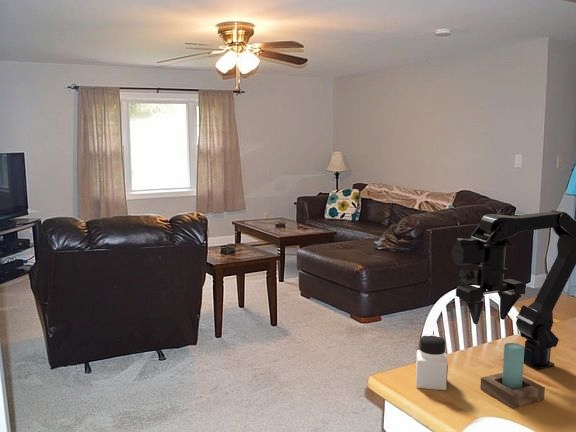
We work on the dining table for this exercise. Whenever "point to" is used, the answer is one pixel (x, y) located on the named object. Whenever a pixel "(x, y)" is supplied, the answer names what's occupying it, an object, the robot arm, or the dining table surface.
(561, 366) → the dining table surface
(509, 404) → the hole block
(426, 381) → the medicine bottle
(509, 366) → the peg
